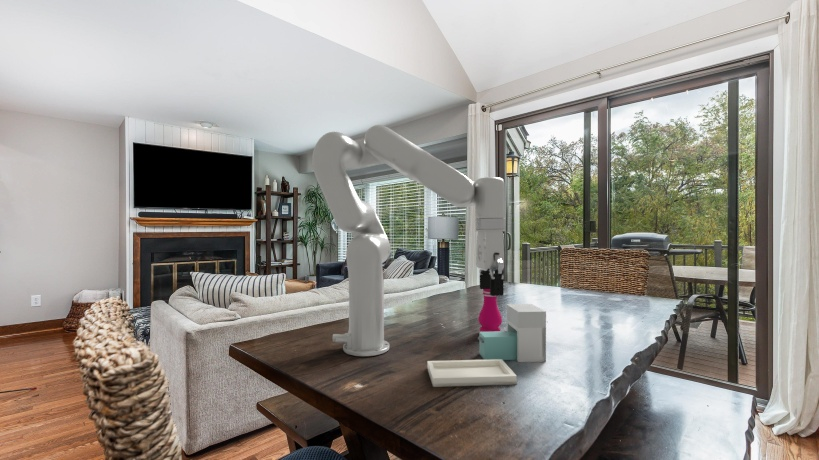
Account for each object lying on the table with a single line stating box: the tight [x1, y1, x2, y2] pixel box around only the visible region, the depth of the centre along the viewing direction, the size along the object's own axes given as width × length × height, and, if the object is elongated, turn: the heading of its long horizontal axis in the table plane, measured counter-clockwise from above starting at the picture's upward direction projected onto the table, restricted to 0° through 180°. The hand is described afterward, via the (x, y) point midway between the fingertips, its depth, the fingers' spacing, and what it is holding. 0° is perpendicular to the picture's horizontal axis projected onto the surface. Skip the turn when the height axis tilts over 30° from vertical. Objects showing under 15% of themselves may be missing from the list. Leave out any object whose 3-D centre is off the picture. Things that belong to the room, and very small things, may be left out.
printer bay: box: [505, 303, 547, 363], centre depth 97 cm, size 7×9×12 cm
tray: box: [426, 359, 518, 388], centre depth 83 cm, size 18×10×2 cm, turn 94°
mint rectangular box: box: [477, 330, 517, 361], centre depth 96 cm, size 14×5×7 cm, turn 94°
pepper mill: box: [478, 289, 503, 332], centre depth 116 cm, size 7×7×20 cm
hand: (491, 292), depth 96 cm, fingers open, 9 cm apart
